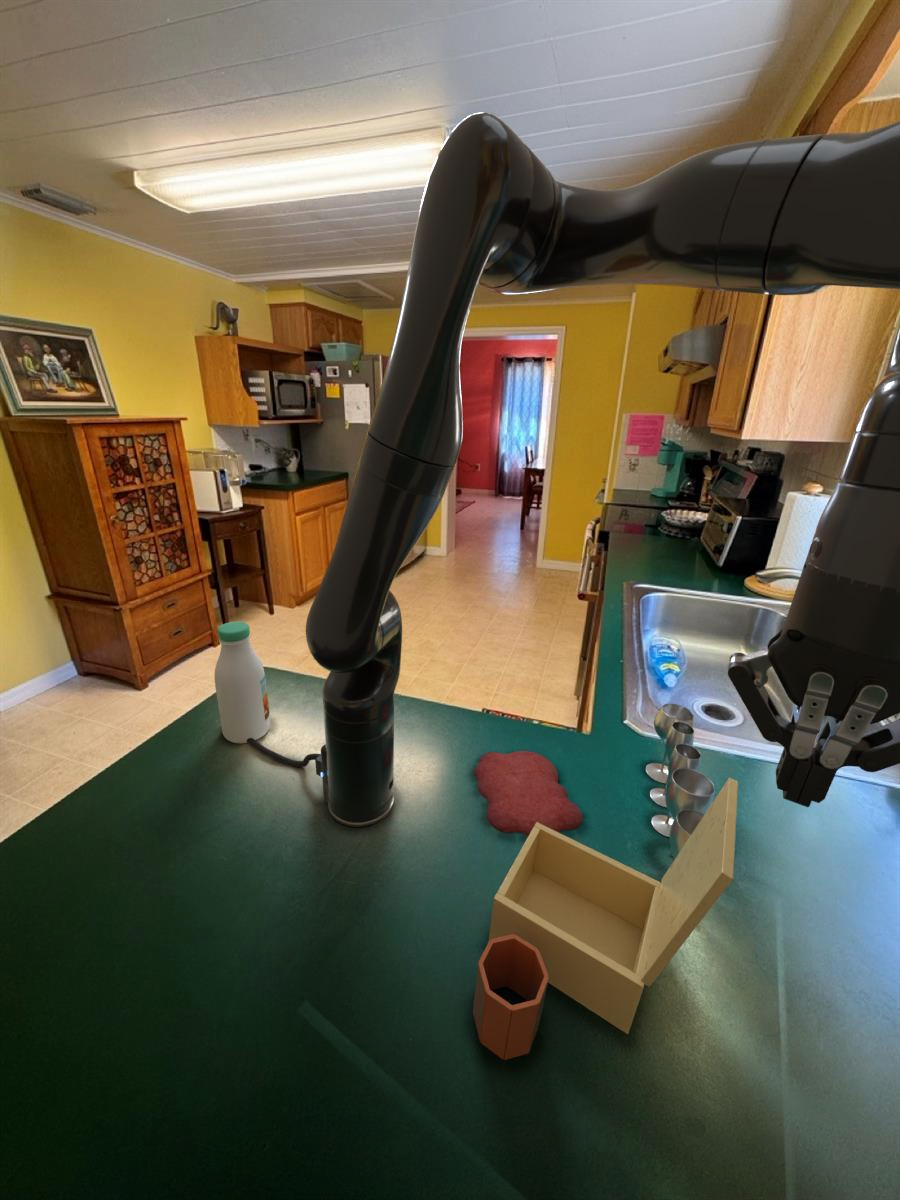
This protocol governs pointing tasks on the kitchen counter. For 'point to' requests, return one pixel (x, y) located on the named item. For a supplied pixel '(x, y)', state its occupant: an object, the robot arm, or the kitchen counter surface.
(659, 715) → the goblet set
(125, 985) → the kitchen counter surface
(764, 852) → the kitchen counter surface
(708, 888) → the wooden box lid
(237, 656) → the milk bottle
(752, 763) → the kitchen counter surface
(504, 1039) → the cup
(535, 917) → the wooden box base
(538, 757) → the red lobed pad
